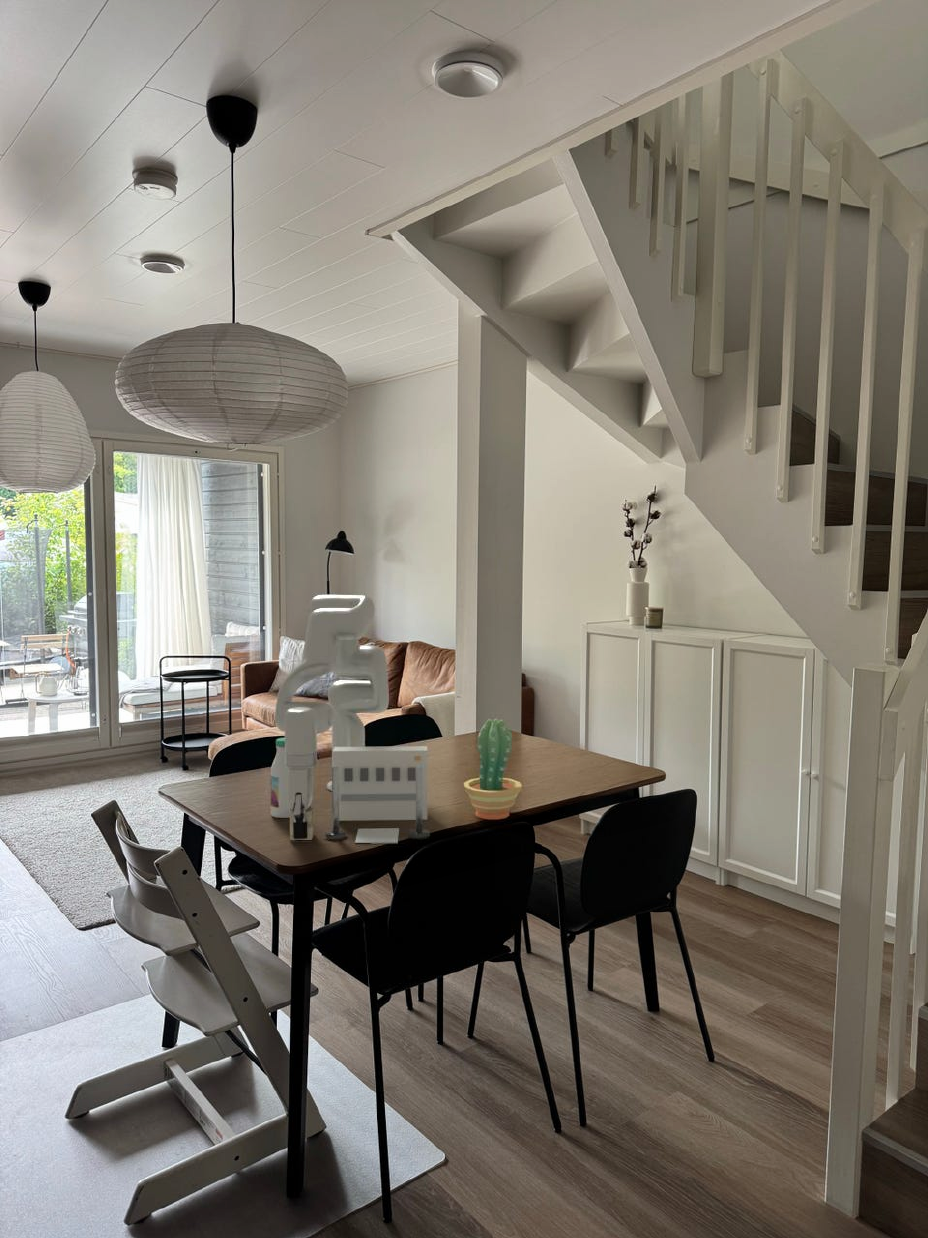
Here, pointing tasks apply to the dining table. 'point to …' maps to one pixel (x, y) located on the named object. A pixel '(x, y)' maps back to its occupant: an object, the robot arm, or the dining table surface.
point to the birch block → (309, 822)
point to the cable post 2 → (419, 809)
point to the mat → (377, 835)
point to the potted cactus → (493, 773)
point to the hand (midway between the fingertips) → (302, 833)
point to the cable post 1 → (335, 809)
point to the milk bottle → (279, 783)
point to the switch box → (380, 782)
